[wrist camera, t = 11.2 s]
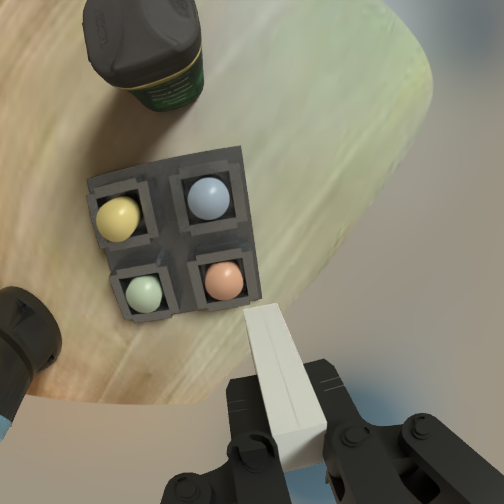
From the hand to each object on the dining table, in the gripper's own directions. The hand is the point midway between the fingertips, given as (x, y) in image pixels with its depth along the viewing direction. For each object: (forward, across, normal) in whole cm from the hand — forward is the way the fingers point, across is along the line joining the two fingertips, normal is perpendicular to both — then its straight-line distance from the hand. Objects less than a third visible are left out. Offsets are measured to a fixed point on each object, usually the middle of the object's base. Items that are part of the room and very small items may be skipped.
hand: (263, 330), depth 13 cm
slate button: (+23, -2, +2) cm, 23 cm away
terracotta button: (+23, -2, -8) cm, 24 cm away
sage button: (+23, -12, -8) cm, 27 cm away
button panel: (+24, -7, -2) cm, 26 cm away
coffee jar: (+25, -4, +18) cm, 31 cm away
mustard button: (+21, -12, +2) cm, 24 cm away
